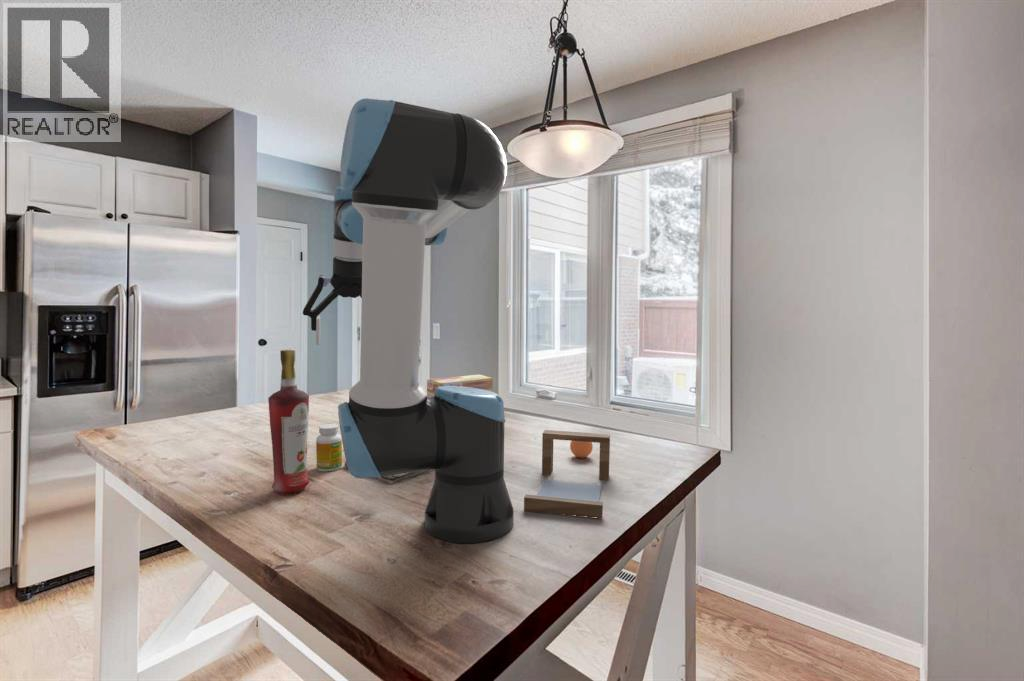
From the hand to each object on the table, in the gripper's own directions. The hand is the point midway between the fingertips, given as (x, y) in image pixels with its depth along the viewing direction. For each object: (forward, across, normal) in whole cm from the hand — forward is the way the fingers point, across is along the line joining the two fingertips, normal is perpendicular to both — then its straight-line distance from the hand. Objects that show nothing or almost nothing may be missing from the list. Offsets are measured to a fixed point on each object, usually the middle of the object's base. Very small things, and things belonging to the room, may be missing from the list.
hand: (347, 343), depth 121 cm
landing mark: (+13, -42, +47) cm, 64 cm away
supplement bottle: (+24, +4, +18) cm, 30 cm away
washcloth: (+23, -9, +22) cm, 33 cm away
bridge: (+16, -48, +37) cm, 63 cm away
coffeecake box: (+23, -27, +18) cm, 39 cm away
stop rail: (+11, -36, +54) cm, 66 cm away
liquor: (+20, +11, +29) cm, 37 cm away
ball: (+16, -55, +26) cm, 63 cm away
